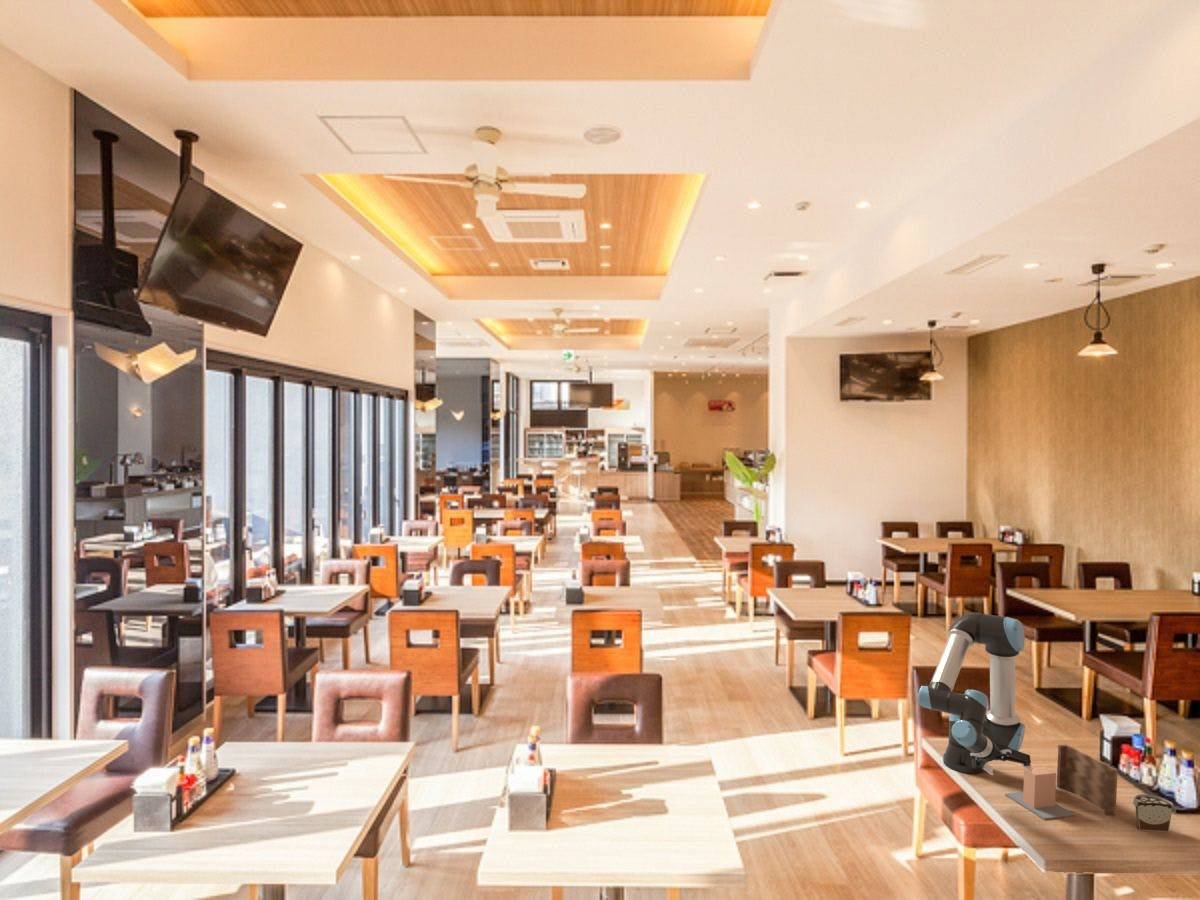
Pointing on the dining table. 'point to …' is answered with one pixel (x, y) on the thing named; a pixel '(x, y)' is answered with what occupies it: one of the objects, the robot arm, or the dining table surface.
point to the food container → (1153, 813)
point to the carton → (1039, 787)
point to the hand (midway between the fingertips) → (1010, 769)
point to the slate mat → (1041, 812)
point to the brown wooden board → (1087, 778)
